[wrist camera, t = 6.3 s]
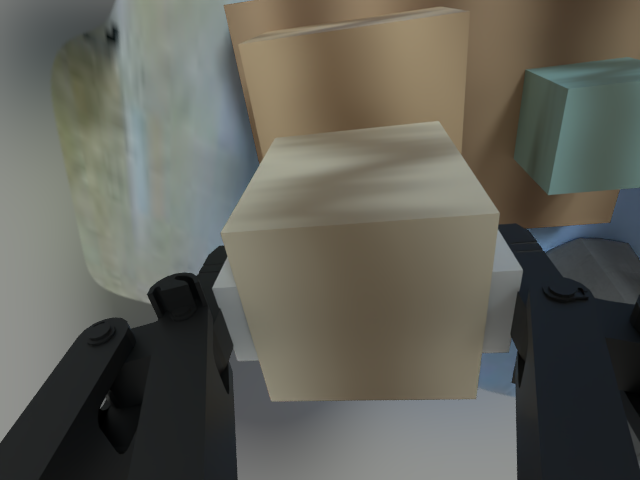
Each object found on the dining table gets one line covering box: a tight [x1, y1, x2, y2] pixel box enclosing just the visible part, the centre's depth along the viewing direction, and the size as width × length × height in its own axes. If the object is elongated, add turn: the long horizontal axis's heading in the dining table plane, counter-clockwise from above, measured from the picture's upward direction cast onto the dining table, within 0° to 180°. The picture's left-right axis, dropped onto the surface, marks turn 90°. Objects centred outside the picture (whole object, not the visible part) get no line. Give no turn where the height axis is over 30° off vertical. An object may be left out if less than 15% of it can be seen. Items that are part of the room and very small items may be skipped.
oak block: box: [221, 121, 500, 401], centre depth 13 cm, size 6×6×7 cm
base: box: [224, 0, 640, 229], centre depth 21 cm, size 22×15×9 cm
